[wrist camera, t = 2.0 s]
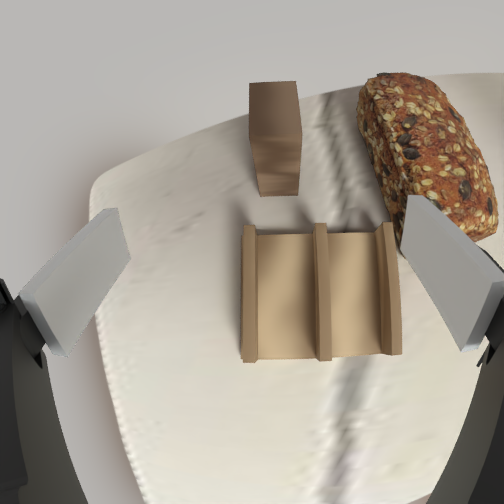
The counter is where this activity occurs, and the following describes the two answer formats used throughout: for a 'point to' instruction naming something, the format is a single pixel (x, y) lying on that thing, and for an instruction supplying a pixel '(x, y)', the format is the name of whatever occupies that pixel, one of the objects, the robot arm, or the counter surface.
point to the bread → (425, 153)
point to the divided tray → (319, 294)
